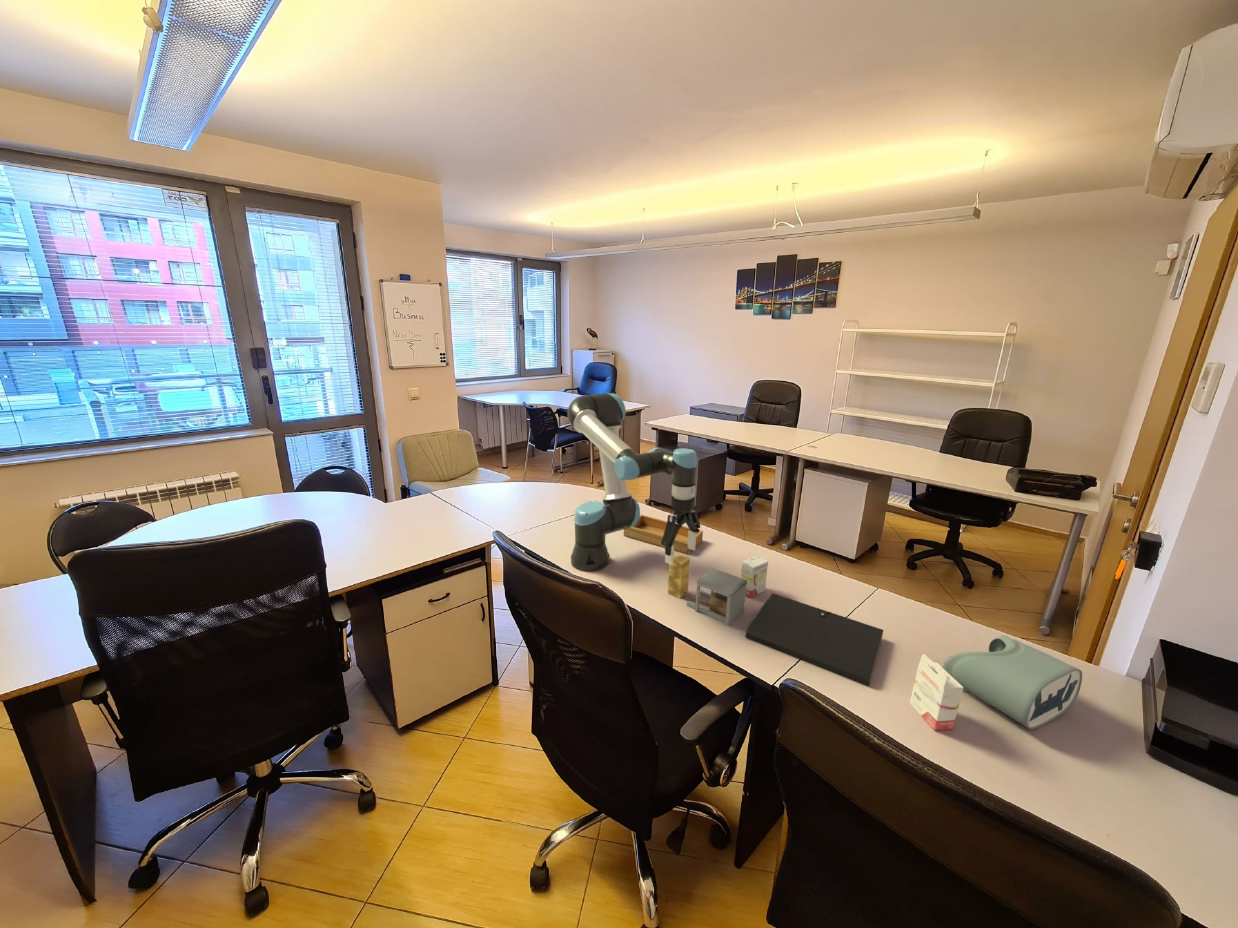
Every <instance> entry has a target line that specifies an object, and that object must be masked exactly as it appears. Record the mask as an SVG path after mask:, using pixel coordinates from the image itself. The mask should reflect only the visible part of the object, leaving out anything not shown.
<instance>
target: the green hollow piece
mask: <svg viewBox="0 0 1238 928" xmlns="http://www.w3.org/2000/svg"><path fill="white" fill-rule="evenodd" d="M942 668H943V669H944V670H945V671H946V672H948V673H949V674H950V675H951V676H952V677H953V678H954V679H955V680H956V681H957V682H958V683H959V684H960V685H961V686H963V691H964V690H965V691H967V692H969V693H971V694H972V695H974V696H975V697H977V698H978V699H980V700H982V701H983V702H984V703H987V704H989V705H990V706H992V707H994V708H995V709H997V710H998V711H1000V712H1002V713H1004V714H1005V715H1006V716H1008V717H1010V718H1012V719H1014V720H1015V721H1017V722H1018V723H1020V724H1021V725H1023V726H1024V727H1026V728H1028V729H1030V730H1034V729H1037V728H1040V727H1042V726H1044V725H1046V724H1048V723H1050V722H1051V721H1053V720H1055V719H1056V718H1058V717H1060V716H1061V715H1063V714H1064V713H1065V712H1067V711H1068V710H1069V709H1070V708H1071V706H1072V705H1073V704H1074V702H1075V701H1076V700H1077V698H1078V695H1079V693H1080V690H1081V686H1082V682H1083V671H1082V670H1081V669H1079V668H1077V667H1075V666H1073V665H1071V664H1068V663H1067V662H1065V661H1063V660H1060V659H1059V658H1056V657H1053V656H1052V655H1050V654H1048V653H1045V652H1044V651H1041V650H1039V649H1037V648H1034V647H1032V646H1031V645H1030V646H1029V645H1027V644H1025V643H1023V642H1022V641H1020V640H1018V639H1014V638H1013V639H1012V638H1011V637H1009V636H1007V635H1000V636H997V637H996V638H994V639H992V640H991V641H990V643H989V646H988V651H965V652H963V651H962V652H959V653H955V654H952V655H951V656H949V657H948V658H946V659H945V661H944V662H943V664H942Z"/></svg>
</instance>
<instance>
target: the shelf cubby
mask: <svg viewBox="0 0 1238 928" xmlns="http://www.w3.org/2000/svg"><path fill="white" fill-rule="evenodd" d="M695 585H696V592H695V597H696V599H695V602H692V601H690V600H687V601H686V606H687V607H689V608H691V609H693V610H694V612H697V613H699V612H700V613H702V614H704V615H706V616H709V617H711V618H713V619H716V620H717V621H720V622H722V623H724V625H725V626H726V627H729V626H730V625H731V624H732V623H733V622H734V621H735V620H736V619H737V618H738V617H739V616H740V615H741V614H742V613H743V612H744V611H745V605H746V597H747V596H746V586H747V580H744V579H742V578H741V577H739V576H737V575H734V574H731V573H728V572H726V571H724V570H723V571H722V570H719V569H718V568H715V567H713V568H712V569H710V570H709V571H707V572H706V573H705V574H703V576H701V577H700V578H699V579H696V583H695ZM701 587H702V588H705V589H707V590H709V591H710V593H709V592H706V591H704V590H701ZM714 592H717V593H719V594H721V595H724V596H726V597H727V609H726V617H724V616H722V615H720V614H717V613H715V612H713V611H711V610H709V609H708V608H705V607H703V606H702V605H700V601H699V598H700V597H704V598H705V599H708V600H710V596H711V595H712V594H713V593H714Z"/></svg>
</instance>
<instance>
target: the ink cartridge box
mask: <svg viewBox="0 0 1238 928" xmlns="http://www.w3.org/2000/svg"><path fill="white" fill-rule="evenodd" d="M917 666H918V667H917V669H916V674H915V679H914V683H913V688H912V692H911V696H910V701H909V704H910V705H911V706H912V707H913V708H914V710H916V712H917V713H918V714H919V715H920V716H921V718H922V719H924V721H925V723H927V724H928V725H929V726H930V727H931V729H933V730H934V731H945V730H953V729H954V726H955V722H956V718H957V715H958V710H959V706H960V703H961V700H962V699H961V698H962V695H963V691H964V689H963V686H961V685H960V684H959V683H958V682H957V681H956V680H955V679H954V678H953V677H952V676H951V675H950V674H949V673H948V672H946V671H945V670H944V669H943V666H941V665H940V664H939V663H938V662H934V661H932V660H931V659H930V658H929V657H928V656H927V655H926V654H925V653H922V654H921V657H920V661H919V663H918V664H917Z"/></svg>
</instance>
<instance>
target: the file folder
mask: <svg viewBox="0 0 1238 928" xmlns="http://www.w3.org/2000/svg"><path fill="white" fill-rule="evenodd" d="M883 635H884V629H882V628H879V627H876V626H873V625H869V624H867V623H864V622H861V621H857V620H854V619H852V618H849V617H846V616H842V615H840V614H837V613H833V612H831V611H828V610H824V609H822V608H819V607H815V606H812V605H810V604H806V603H804V602H800V601H798V600H794V599H792V598H788V597H785V596H784V595H783V596H782V595H779V594H776V593H771V594H770V596H769V597H768V599H767V600H766V601H765V602H764V604H762V607H761V608H760V609H759V611H758V612H757V613H756V615H755V617H753V619H752V621H751V622H750V623H749V625H748V626H747V628H746V630H745V638H747V639H750V640H752V641H754V642H757V643H760V644H761V645H762V644H763V645H765V646H767V647H770V648H773V649H775V650H777V651H780V652H783V653H785V654H788V655H790V656H793V657H795V658H797V659H799V660H802V661H805V662H808V663H809V664H813V665H815V666H817V667H820V668H823V669H825V670H828V671H831V672H833V673H836V674H838V675H840V676H843V677H846V678H848V679H851V680H852V681H856V682H858V683H860V684H864V685H866V686H868V687H869V686H870V684H871V680H872V676H873V673H874V672H873V671H874V669H875V665H876V661H877V657H878V654H879V651H880V647H881V643H882V639H883Z"/></svg>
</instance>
